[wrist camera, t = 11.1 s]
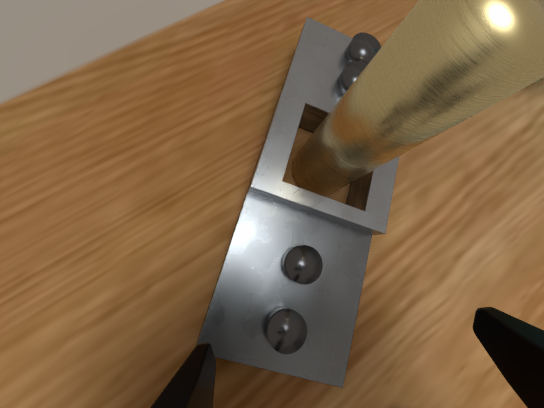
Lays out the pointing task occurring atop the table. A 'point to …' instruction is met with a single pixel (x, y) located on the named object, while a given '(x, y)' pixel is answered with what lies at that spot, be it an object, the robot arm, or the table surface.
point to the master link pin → (424, 85)
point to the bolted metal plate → (300, 233)
